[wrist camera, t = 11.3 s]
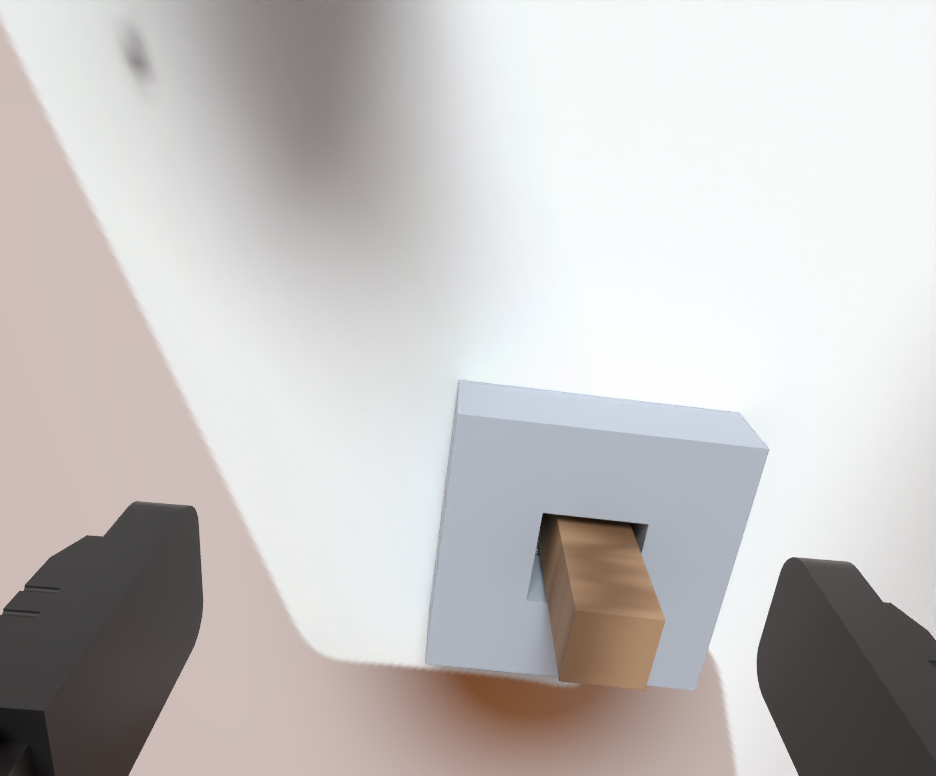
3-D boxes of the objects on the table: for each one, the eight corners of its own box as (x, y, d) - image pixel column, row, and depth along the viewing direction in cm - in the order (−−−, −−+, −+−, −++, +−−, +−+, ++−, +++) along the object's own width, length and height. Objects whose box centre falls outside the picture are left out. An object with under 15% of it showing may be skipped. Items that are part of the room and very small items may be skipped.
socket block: (739, 412, 37) (769, 449, 33) (675, 637, 42) (695, 690, 39) (458, 380, 36) (457, 413, 33) (429, 612, 42) (425, 663, 38)
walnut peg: (618, 492, 39) (665, 620, 30) (604, 550, 40) (645, 690, 31) (550, 484, 39) (575, 610, 29) (538, 542, 40) (559, 681, 31)
